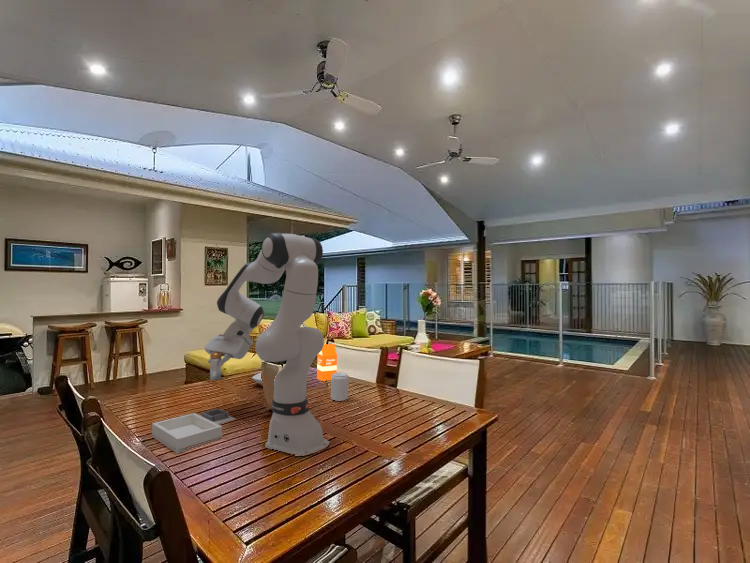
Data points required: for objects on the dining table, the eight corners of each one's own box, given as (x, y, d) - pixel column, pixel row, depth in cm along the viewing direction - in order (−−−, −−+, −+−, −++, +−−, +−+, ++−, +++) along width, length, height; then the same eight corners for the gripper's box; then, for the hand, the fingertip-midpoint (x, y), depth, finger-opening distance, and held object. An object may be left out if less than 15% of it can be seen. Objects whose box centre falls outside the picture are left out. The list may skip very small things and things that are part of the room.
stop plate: (235, 421, 152) (236, 413, 152) (211, 428, 145) (211, 420, 145) (217, 413, 161) (217, 405, 161) (193, 419, 154) (193, 411, 154)
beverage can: (339, 403, 178) (340, 377, 178) (327, 399, 183) (327, 374, 183) (351, 399, 184) (352, 374, 184) (338, 396, 189) (339, 371, 189)
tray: (221, 439, 135) (222, 426, 135) (177, 453, 124) (177, 439, 124) (194, 424, 148) (194, 412, 148) (151, 436, 136) (152, 423, 136)
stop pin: (223, 378, 153) (223, 353, 153) (213, 380, 150) (213, 354, 150) (217, 376, 156) (218, 351, 156) (207, 378, 153) (208, 353, 153)
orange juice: (336, 380, 218) (337, 344, 218) (321, 382, 214) (322, 345, 214) (330, 377, 225) (331, 342, 225) (316, 379, 221) (317, 343, 221)
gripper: (213, 329, 164) (192, 356, 156) (248, 333, 154) (227, 362, 145) (222, 338, 168) (202, 365, 159) (256, 343, 158) (236, 372, 149)
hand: (214, 364), depth 152 cm, fingers closed on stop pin, 4 cm apart
